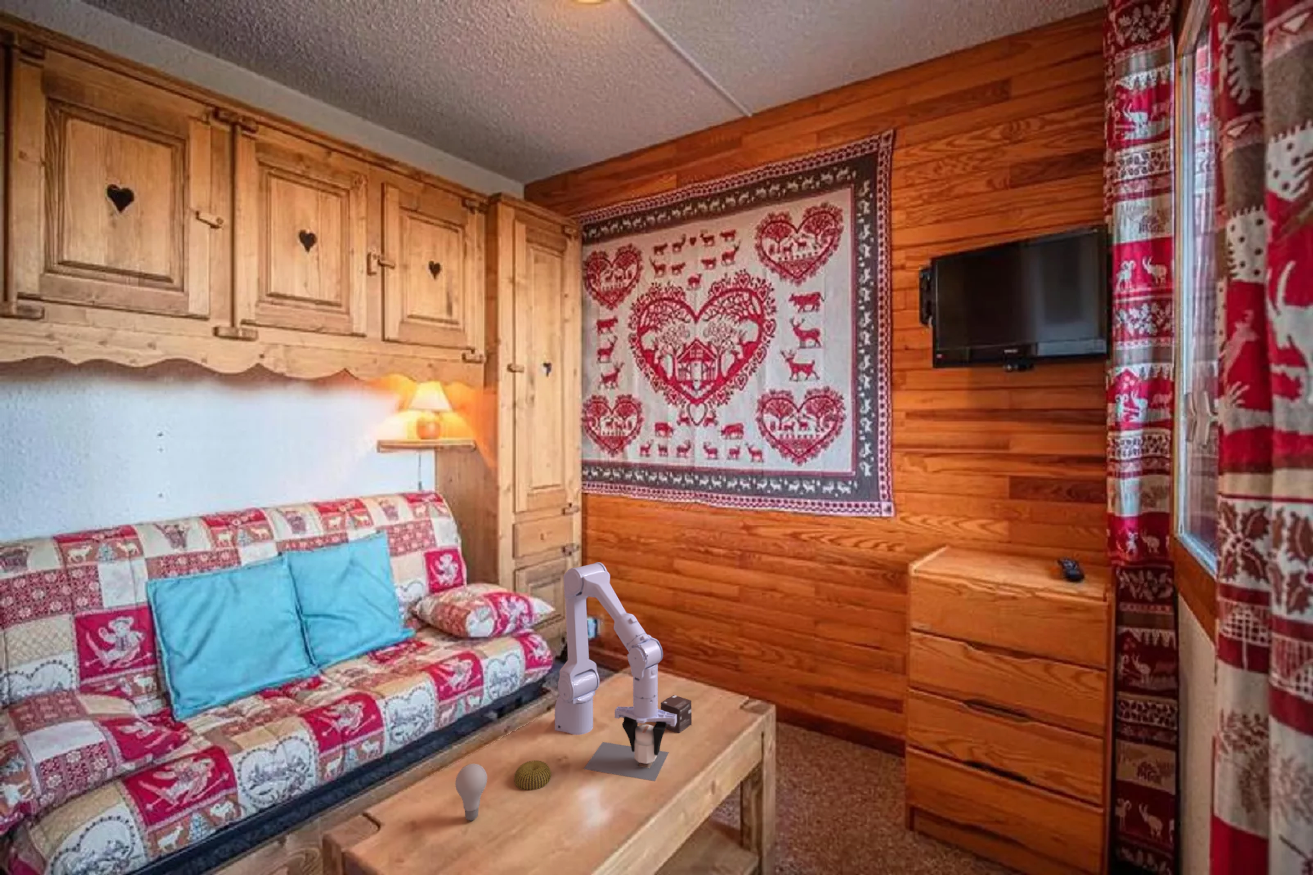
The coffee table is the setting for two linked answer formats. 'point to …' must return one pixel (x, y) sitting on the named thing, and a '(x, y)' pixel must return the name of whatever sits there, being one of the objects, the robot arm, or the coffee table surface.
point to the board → (623, 762)
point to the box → (678, 712)
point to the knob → (644, 744)
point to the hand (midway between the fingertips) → (645, 751)
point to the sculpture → (532, 774)
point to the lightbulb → (471, 788)
